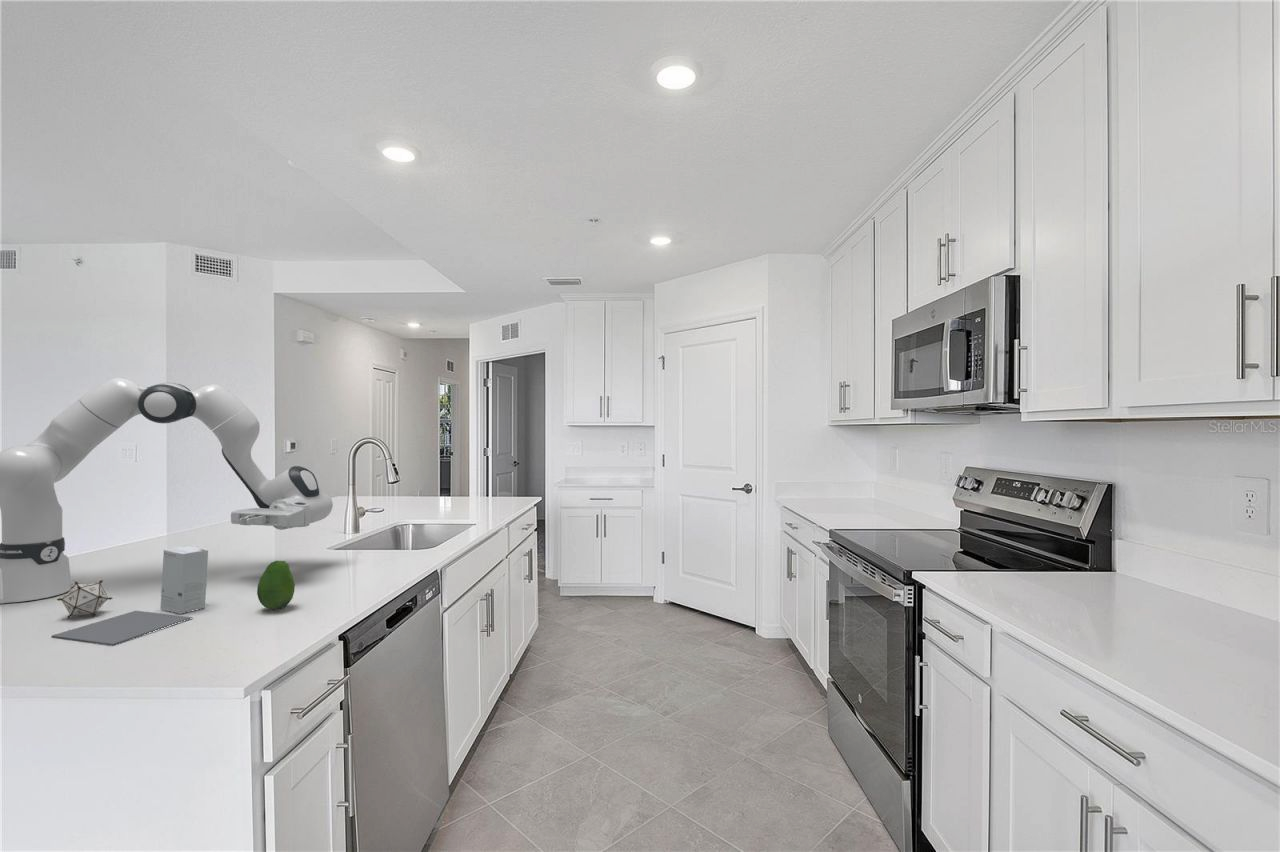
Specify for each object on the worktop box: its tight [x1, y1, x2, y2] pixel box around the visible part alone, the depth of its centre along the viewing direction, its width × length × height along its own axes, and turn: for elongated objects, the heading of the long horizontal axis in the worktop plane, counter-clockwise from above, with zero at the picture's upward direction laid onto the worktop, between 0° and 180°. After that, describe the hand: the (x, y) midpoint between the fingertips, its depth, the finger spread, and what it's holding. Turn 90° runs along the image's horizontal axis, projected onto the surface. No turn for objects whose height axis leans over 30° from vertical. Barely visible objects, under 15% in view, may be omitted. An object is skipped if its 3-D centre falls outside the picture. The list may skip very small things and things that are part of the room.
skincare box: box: [159, 545, 209, 615], centre depth 146 cm, size 8×6×15 cm
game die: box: [56, 579, 114, 619], centre depth 140 cm, size 9×8×10 cm
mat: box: [51, 610, 193, 647], centre depth 133 cm, size 17×17×1 cm
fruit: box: [256, 560, 296, 611], centre depth 147 cm, size 8×8×12 cm
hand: (243, 522), depth 161 cm, fingers closed
